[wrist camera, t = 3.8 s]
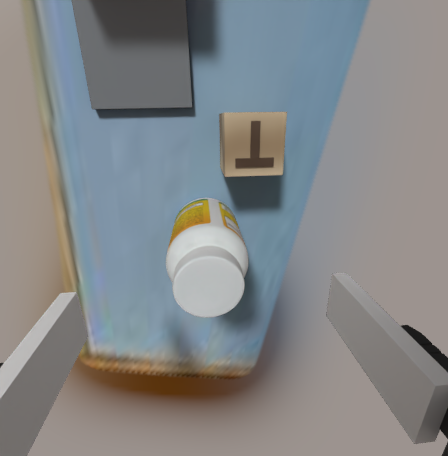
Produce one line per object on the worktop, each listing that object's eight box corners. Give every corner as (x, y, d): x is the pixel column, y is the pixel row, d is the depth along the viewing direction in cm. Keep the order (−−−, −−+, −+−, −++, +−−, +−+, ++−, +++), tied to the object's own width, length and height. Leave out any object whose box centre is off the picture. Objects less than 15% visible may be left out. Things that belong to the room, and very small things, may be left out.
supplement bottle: (242, 204, 23) (271, 256, 14) (226, 258, 25) (242, 333, 16) (181, 189, 22) (171, 235, 13) (168, 246, 24) (152, 320, 15)
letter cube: (219, 114, 20) (224, 112, 17) (270, 113, 21) (287, 111, 17) (220, 168, 22) (225, 178, 18) (268, 166, 22) (282, 176, 18)
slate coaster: (72, -13, 17) (68, -18, 16) (185, -12, 17) (184, -16, 17) (95, 109, 19) (92, 109, 19) (192, 107, 20) (192, 107, 19)
